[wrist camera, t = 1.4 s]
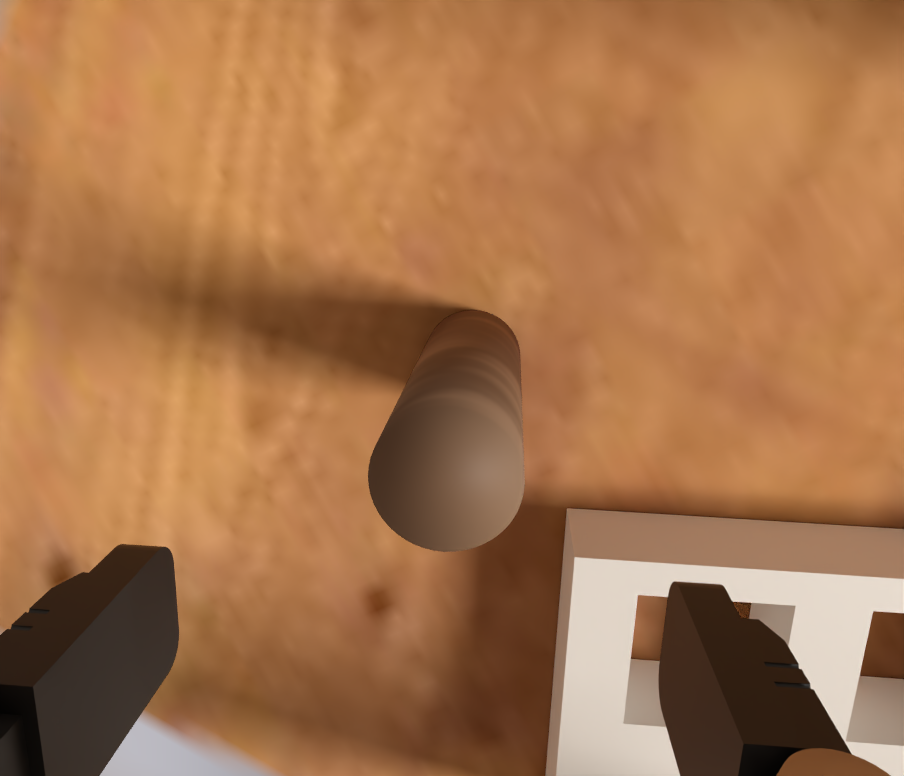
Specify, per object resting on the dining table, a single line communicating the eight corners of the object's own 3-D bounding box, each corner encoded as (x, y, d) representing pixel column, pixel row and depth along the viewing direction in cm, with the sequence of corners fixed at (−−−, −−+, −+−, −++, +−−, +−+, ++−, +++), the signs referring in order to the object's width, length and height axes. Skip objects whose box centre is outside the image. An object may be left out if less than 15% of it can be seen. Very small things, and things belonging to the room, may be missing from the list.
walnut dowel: (522, 312, 28) (529, 410, 17) (517, 404, 29) (520, 556, 18) (426, 308, 29) (368, 401, 17) (424, 399, 30) (368, 546, 18)
